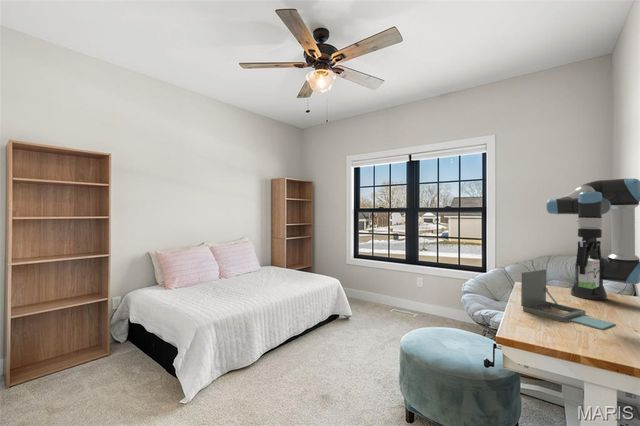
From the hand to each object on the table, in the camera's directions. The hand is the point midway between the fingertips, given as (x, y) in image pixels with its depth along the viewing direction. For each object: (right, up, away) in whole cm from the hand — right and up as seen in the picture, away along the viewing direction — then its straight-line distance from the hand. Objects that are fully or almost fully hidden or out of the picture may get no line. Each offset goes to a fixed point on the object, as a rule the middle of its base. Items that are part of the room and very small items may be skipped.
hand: (588, 280), depth 127 cm
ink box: (0, -3, 0) cm, 3 cm away
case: (-6, -18, +12) cm, 22 cm away
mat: (0, -18, -1) cm, 18 cm away
